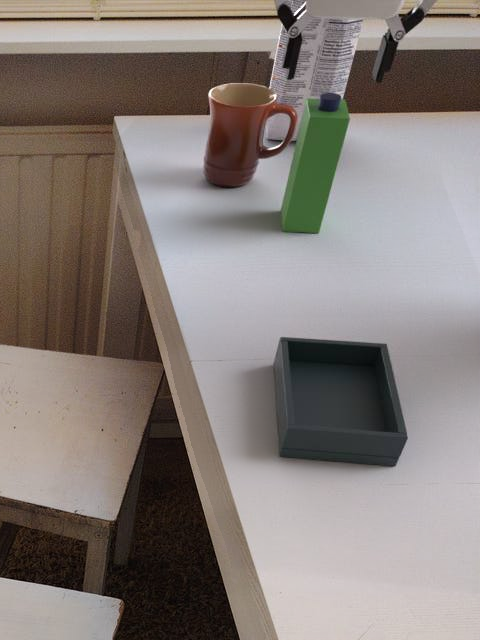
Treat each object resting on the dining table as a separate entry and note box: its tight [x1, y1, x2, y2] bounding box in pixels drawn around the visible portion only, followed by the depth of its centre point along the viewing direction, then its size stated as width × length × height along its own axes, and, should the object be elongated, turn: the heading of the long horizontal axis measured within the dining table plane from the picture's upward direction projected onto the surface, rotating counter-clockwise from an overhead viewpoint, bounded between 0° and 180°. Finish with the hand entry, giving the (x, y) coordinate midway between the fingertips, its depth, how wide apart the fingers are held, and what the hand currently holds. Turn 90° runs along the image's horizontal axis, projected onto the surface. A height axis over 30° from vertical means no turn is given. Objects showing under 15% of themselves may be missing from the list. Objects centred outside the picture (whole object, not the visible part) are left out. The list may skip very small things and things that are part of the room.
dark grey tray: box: [272, 336, 409, 467], centre depth 79 cm, size 15×10×3 cm
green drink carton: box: [280, 93, 351, 234], centre depth 100 cm, size 6×4×14 cm
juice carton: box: [265, 0, 364, 142], centre depth 114 cm, size 9×10×27 cm
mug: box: [202, 82, 298, 188], centre depth 110 cm, size 12×9×10 cm
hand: (332, 77), depth 94 cm, fingers open, 9 cm apart
